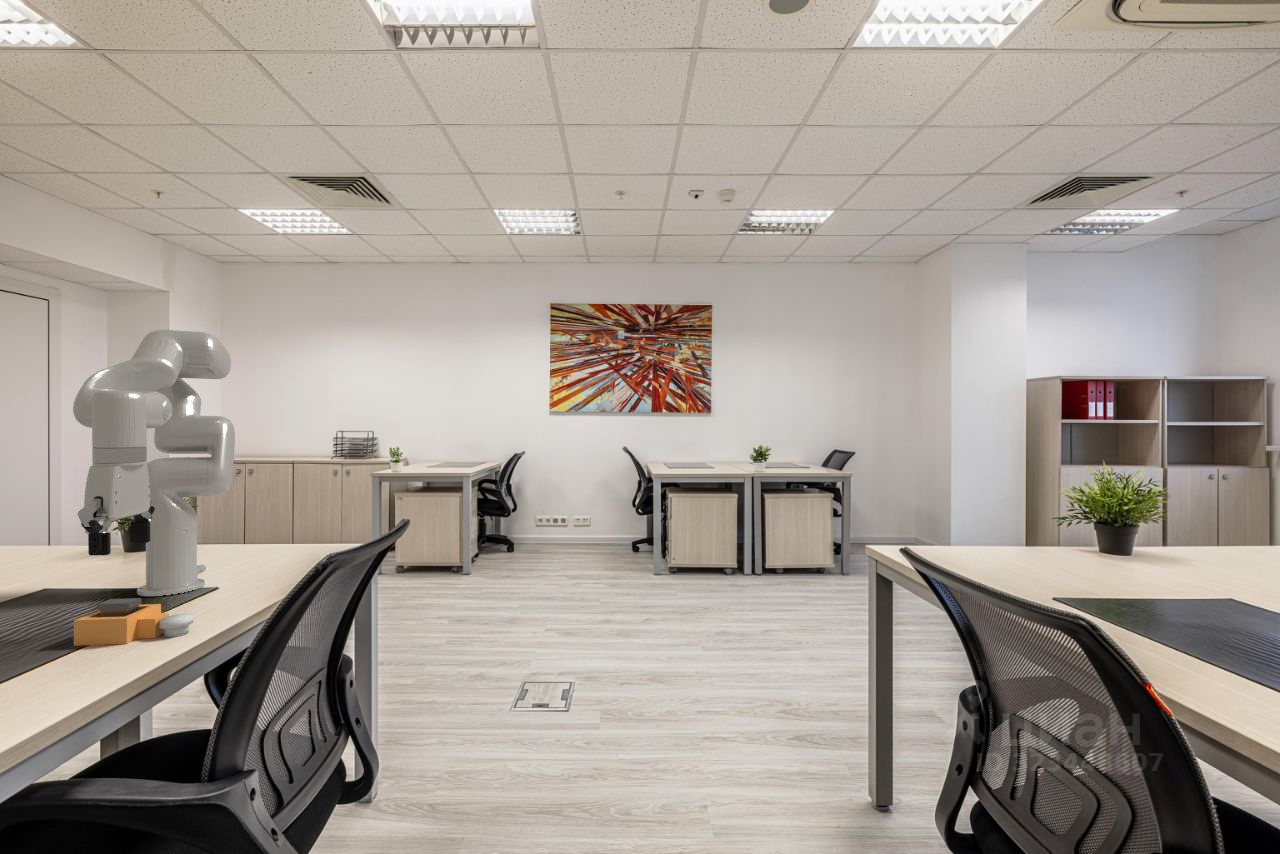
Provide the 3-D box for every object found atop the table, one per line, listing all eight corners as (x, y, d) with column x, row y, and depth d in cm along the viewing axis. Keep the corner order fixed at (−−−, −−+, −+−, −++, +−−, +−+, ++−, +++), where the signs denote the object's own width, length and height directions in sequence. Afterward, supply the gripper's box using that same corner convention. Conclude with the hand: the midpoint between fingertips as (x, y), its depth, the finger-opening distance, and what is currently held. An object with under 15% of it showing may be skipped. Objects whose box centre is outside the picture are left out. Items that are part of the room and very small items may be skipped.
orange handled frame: (73, 645, 102) (73, 620, 102) (112, 628, 111) (112, 605, 111) (175, 641, 104) (175, 616, 104) (205, 625, 113) (205, 602, 113)
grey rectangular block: (110, 633, 108) (110, 599, 108) (141, 632, 109) (141, 598, 109) (97, 640, 105) (97, 604, 105) (128, 638, 106) (128, 603, 106)
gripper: (133, 453, 115) (134, 538, 116) (56, 460, 98) (57, 560, 99) (174, 453, 116) (174, 538, 117) (104, 461, 99) (105, 560, 100)
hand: (120, 548), depth 108 cm, fingers open, 9 cm apart
